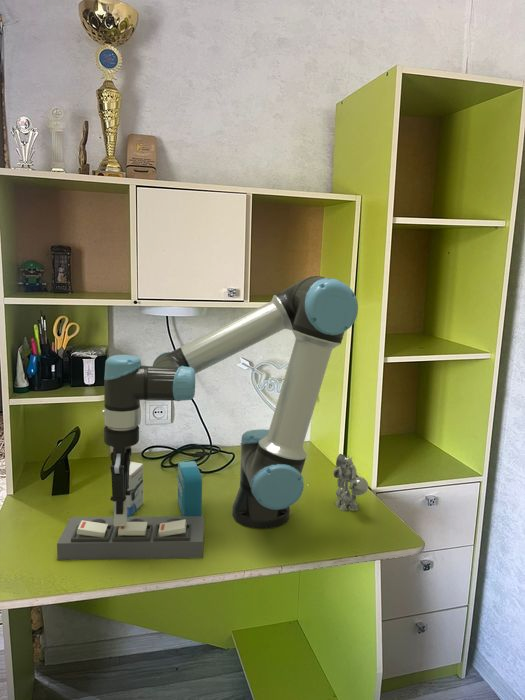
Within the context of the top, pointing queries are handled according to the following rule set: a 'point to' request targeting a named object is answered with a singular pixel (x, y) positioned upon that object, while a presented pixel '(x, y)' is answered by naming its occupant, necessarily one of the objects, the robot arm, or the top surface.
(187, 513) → the data package
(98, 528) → the rocker
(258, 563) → the top surface
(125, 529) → the middle rocker
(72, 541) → the rocker switch panel
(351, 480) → the robot toy
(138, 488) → the ink box
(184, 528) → the rocker
